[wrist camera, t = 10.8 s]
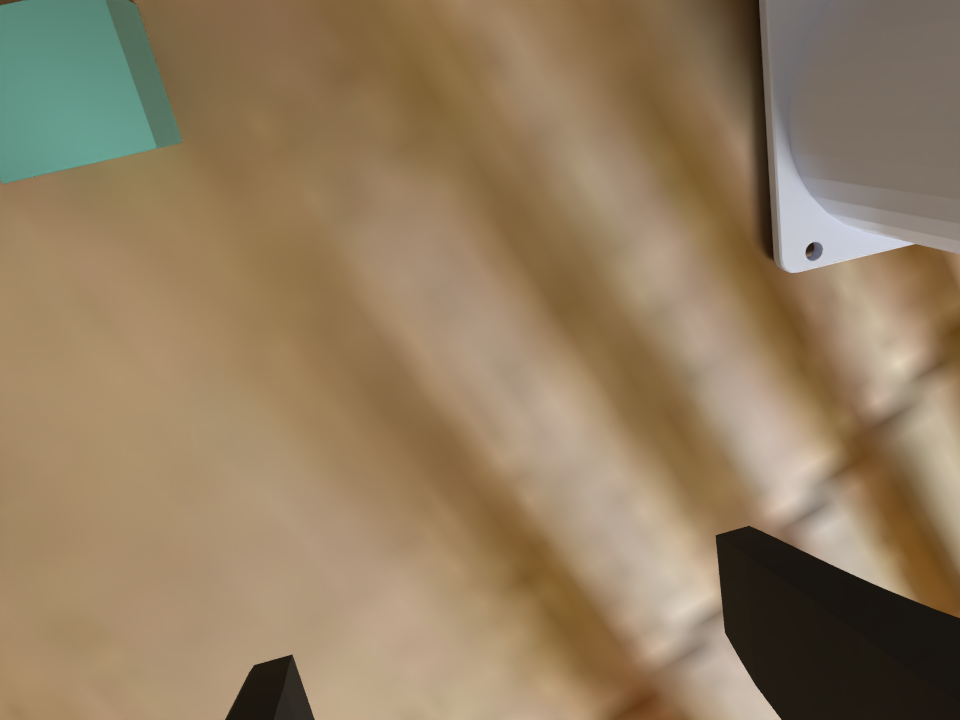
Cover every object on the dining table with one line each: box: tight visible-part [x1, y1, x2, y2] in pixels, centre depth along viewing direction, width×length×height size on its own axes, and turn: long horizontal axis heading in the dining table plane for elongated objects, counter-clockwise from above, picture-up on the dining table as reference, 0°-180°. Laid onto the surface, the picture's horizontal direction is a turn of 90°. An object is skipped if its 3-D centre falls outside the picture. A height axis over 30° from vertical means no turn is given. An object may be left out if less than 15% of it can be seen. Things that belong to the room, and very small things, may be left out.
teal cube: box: [0, 0, 183, 184], centre depth 16 cm, size 3×3×3 cm
